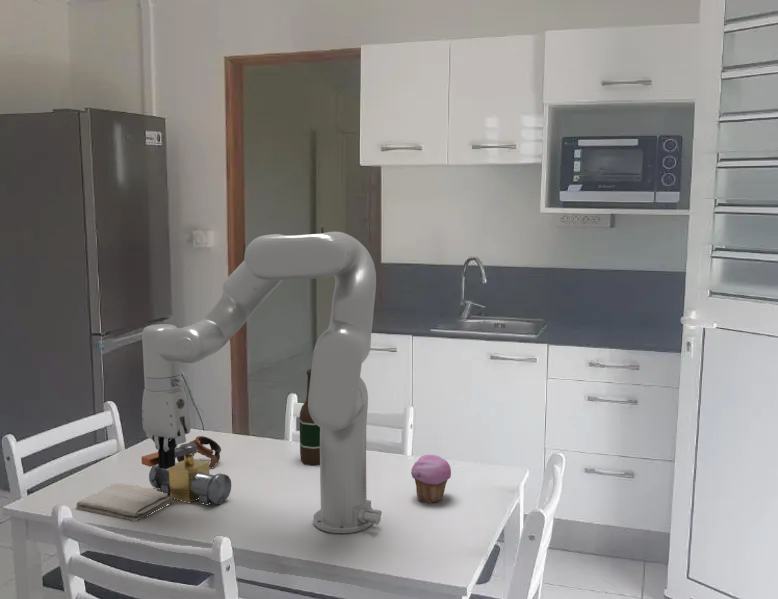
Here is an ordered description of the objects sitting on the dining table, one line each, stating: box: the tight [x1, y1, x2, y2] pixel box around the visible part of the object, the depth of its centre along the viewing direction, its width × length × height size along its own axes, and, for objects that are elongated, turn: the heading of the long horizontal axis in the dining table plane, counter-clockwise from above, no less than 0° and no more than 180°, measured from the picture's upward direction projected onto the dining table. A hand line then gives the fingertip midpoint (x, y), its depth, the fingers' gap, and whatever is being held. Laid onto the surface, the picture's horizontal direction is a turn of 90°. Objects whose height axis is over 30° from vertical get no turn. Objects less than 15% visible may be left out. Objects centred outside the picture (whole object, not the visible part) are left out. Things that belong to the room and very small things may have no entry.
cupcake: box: [410, 454, 452, 503], centre depth 171 cm, size 9×9×10 cm
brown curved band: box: [176, 435, 222, 469], centre depth 193 cm, size 12×10×8 cm
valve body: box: [148, 454, 232, 505], centre depth 173 cm, size 19×6×10 cm, turn 59°
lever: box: [141, 442, 197, 468], centre depth 169 cm, size 4×13×2 cm, turn 141°
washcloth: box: [75, 482, 173, 522], centre depth 168 cm, size 12×18×3 cm, turn 67°
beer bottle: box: [299, 368, 320, 466], centre depth 196 cm, size 8×8×24 cm
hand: (167, 466), depth 164 cm, fingers closed
